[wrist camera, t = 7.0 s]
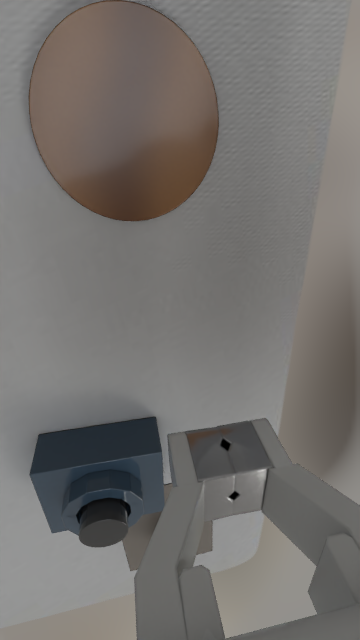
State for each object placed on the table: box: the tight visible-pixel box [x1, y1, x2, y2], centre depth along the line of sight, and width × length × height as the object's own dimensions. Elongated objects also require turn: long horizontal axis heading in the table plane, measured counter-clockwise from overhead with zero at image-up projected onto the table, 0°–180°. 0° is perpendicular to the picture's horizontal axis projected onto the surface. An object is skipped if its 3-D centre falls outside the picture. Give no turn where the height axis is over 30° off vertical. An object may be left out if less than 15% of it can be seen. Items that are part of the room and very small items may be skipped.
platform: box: [122, 484, 212, 571], centre depth 39 cm, size 12×18×7 cm, turn 3°
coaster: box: [29, 0, 219, 221], centre depth 19 cm, size 11×11×1 cm
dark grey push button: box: [79, 497, 128, 547], centre depth 27 cm, size 4×4×2 cm
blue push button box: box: [30, 417, 165, 536], centre depth 30 cm, size 11×9×6 cm
